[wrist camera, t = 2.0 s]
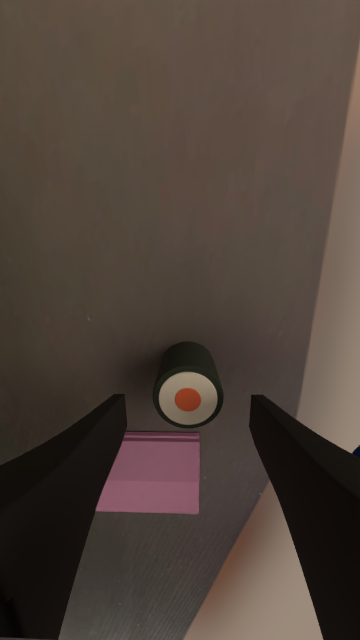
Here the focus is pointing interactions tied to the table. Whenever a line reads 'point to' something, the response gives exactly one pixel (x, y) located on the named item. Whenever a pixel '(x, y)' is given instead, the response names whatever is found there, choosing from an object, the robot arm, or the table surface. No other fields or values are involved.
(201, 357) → the sushi roll
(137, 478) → the napkin
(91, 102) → the table surface
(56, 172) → the table surface
